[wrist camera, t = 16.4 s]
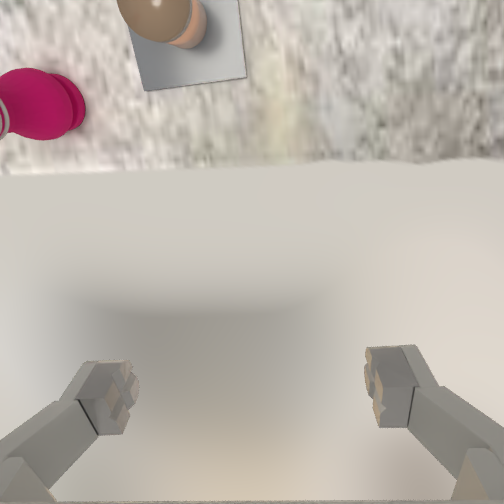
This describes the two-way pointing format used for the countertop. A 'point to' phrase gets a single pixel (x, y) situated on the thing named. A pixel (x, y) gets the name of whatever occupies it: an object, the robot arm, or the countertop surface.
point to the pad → (195, 52)
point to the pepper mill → (38, 104)
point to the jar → (166, 20)
